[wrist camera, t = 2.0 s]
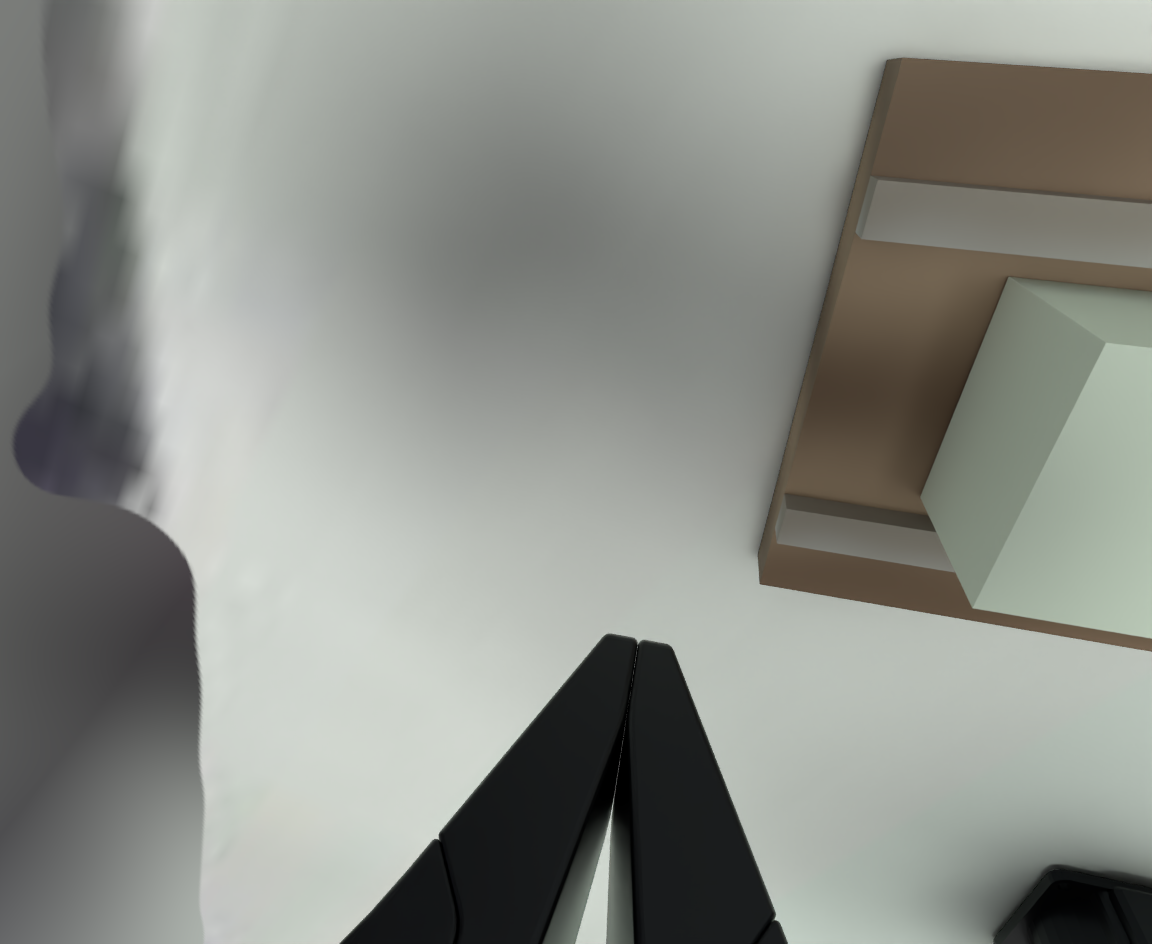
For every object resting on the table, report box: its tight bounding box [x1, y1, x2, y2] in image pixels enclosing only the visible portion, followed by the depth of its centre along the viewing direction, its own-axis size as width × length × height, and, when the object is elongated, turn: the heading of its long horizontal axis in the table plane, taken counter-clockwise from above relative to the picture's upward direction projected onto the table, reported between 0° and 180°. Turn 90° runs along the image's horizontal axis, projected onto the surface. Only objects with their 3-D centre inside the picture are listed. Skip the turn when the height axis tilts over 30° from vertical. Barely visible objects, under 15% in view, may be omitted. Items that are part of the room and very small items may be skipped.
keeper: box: [920, 277, 1152, 639], centre depth 14 cm, size 6×6×4 cm
